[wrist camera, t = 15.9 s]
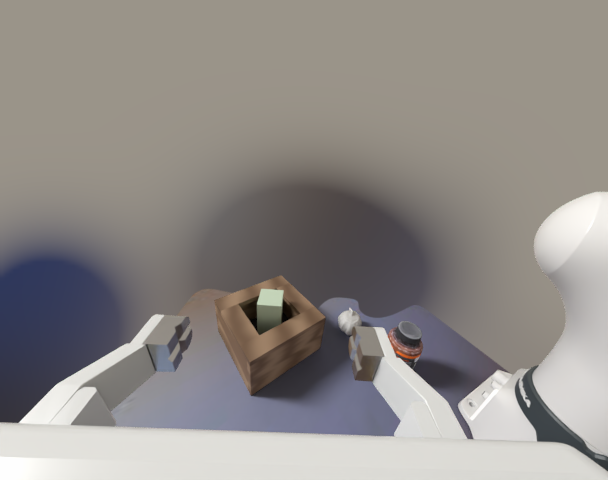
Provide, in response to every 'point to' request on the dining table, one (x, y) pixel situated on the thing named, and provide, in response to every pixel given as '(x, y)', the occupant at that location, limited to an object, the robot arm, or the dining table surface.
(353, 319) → the garlic
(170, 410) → the dining table surface
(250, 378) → the box
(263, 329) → the green peg
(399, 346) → the supplement bottle
